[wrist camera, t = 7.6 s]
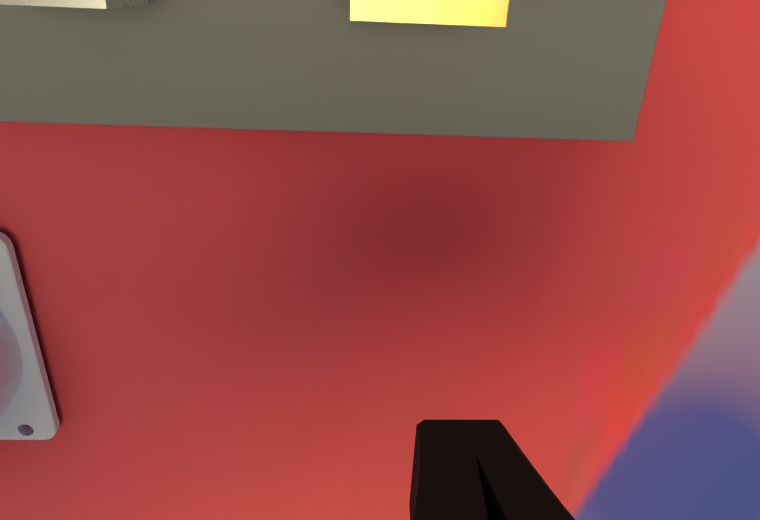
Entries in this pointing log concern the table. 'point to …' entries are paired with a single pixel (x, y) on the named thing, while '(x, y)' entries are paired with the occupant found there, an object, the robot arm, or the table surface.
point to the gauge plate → (331, 68)
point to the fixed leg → (77, 3)
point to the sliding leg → (432, 11)
